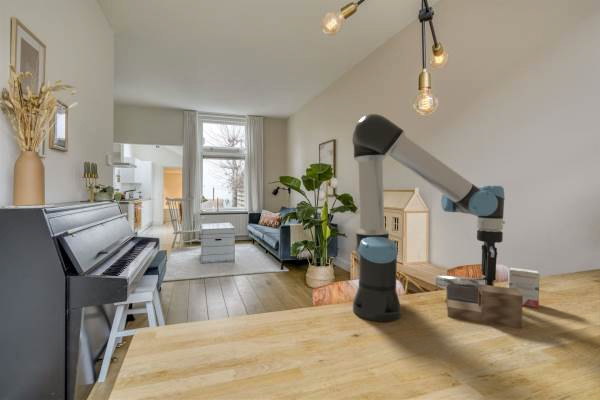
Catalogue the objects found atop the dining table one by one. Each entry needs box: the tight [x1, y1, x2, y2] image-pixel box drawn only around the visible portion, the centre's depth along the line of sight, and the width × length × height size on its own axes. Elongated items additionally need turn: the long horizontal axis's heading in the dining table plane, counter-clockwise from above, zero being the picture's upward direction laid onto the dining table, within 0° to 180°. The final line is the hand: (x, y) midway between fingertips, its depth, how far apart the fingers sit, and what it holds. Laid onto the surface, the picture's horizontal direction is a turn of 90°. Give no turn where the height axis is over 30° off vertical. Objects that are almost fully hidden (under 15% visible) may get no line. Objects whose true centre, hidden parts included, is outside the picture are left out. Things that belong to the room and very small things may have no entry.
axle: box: [435, 274, 484, 288], centre depth 106 cm, size 18×4×4 cm, turn 66°
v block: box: [445, 284, 479, 304], centre depth 106 cm, size 10×7×6 cm
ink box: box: [507, 267, 541, 308], centre depth 104 cm, size 9×5×12 cm, turn 58°
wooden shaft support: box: [446, 284, 523, 329], centre depth 92 cm, size 19×7×10 cm, turn 66°
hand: (487, 296), depth 103 cm, fingers closed on axle, 4 cm apart
